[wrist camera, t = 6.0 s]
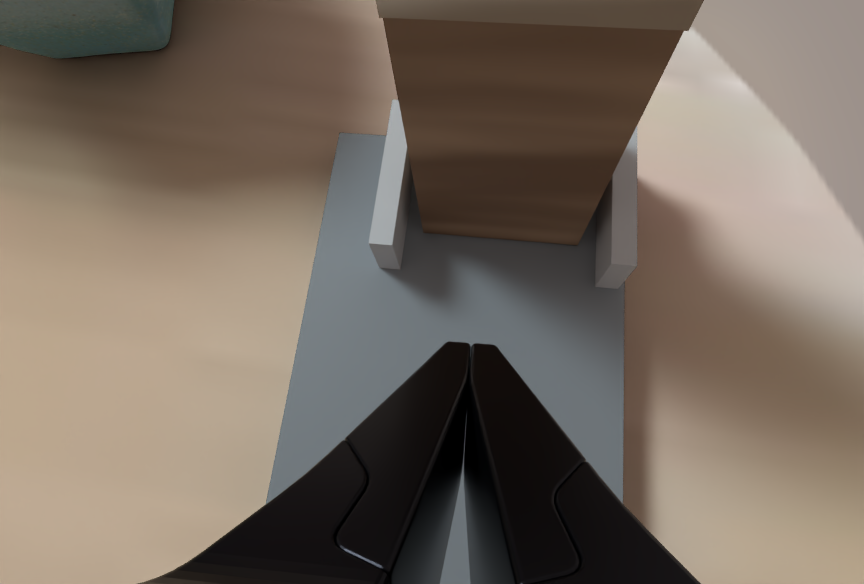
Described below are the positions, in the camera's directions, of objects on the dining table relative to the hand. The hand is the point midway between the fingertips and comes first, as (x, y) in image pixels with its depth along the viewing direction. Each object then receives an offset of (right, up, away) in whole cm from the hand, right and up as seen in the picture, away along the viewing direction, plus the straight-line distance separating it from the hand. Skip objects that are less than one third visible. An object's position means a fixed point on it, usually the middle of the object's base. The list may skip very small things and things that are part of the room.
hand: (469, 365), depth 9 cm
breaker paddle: (+2, +4, +9) cm, 10 cm away
